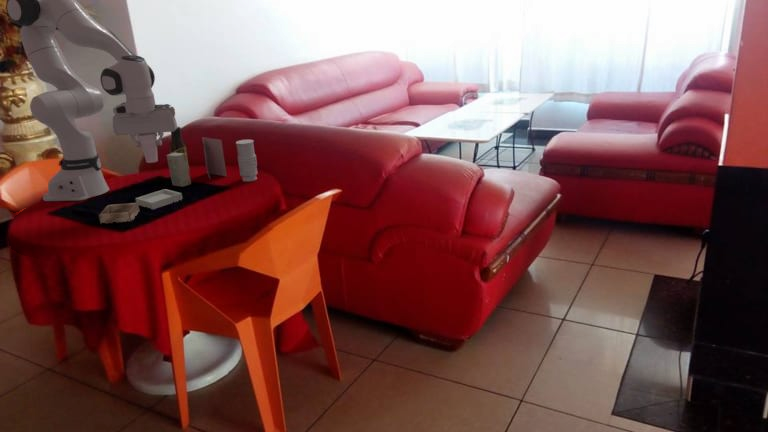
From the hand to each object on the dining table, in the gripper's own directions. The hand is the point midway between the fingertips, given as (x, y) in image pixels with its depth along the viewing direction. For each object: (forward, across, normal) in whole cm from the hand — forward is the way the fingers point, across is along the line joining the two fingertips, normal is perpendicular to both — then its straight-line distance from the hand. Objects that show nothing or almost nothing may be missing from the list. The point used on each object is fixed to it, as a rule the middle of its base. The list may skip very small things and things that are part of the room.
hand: (149, 145), depth 205 cm
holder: (+20, +10, +13) cm, 26 cm away
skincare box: (+21, -4, -20) cm, 29 cm away
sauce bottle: (+21, -2, -33) cm, 39 cm away
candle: (+21, -30, -20) cm, 42 cm away
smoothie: (+6, 0, 0) cm, 6 cm away
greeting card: (+21, -16, -29) cm, 39 cm away
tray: (+20, 0, 0) cm, 20 cm away
